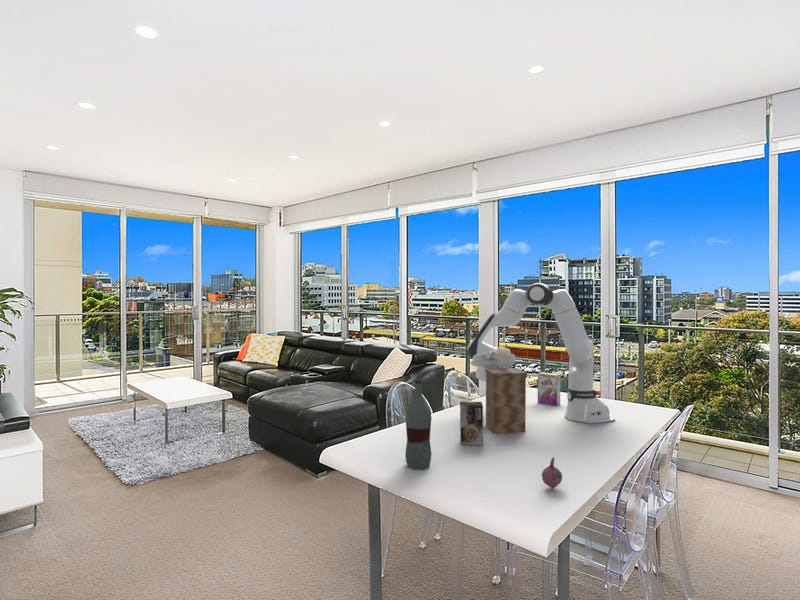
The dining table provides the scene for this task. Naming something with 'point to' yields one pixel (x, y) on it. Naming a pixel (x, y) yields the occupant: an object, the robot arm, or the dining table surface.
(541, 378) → the candy bar box
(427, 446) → the bottle
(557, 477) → the vegetable
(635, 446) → the dining table surface
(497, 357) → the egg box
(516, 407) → the lidded wooden crate
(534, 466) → the dining table surface
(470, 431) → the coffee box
